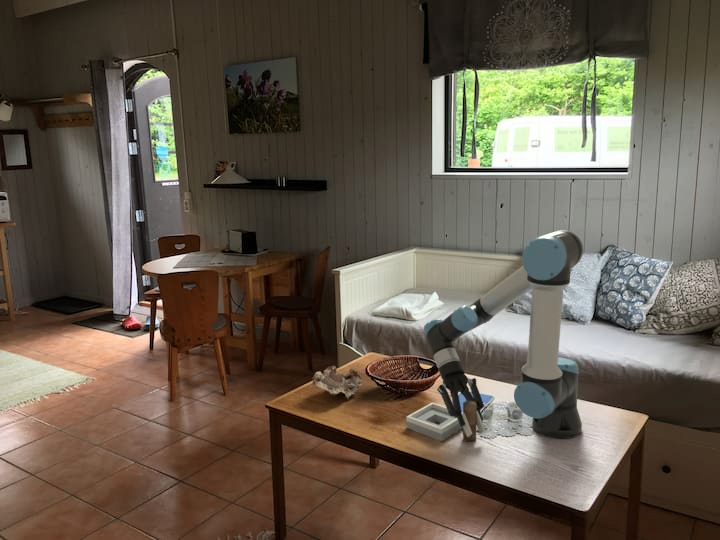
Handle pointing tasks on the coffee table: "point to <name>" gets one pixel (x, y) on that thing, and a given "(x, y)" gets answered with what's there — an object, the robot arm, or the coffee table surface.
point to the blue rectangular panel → (485, 398)
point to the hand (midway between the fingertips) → (476, 433)
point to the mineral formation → (337, 381)
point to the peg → (470, 420)
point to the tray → (428, 415)
